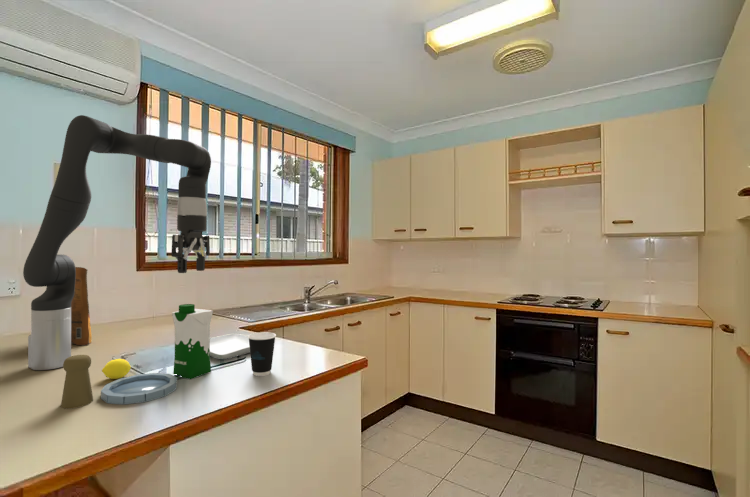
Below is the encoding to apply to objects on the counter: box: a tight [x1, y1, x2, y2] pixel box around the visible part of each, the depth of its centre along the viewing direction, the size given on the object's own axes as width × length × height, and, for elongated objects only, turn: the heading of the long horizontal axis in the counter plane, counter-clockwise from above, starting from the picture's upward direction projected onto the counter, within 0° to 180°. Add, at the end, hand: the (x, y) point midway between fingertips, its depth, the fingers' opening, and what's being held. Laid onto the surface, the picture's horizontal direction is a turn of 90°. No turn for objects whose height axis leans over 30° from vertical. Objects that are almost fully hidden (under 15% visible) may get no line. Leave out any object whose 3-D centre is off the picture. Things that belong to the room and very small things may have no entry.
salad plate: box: [210, 333, 250, 360], centre depth 135 cm, size 21×21×3 cm
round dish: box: [100, 372, 178, 405], centre depth 98 cm, size 16×16×2 cm
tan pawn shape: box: [60, 354, 94, 409], centre depth 90 cm, size 6×6×11 cm
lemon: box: [101, 358, 132, 380], centre depth 106 cm, size 7×5×5 cm
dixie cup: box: [247, 331, 277, 377], centre depth 112 cm, size 8×8×11 cm
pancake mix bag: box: [71, 266, 93, 346], centre depth 143 cm, size 7×19×28 cm, turn 56°
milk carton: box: [171, 303, 214, 380], centre depth 111 cm, size 9×9×20 cm
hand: (191, 271), depth 110 cm, fingers open, 8 cm apart
